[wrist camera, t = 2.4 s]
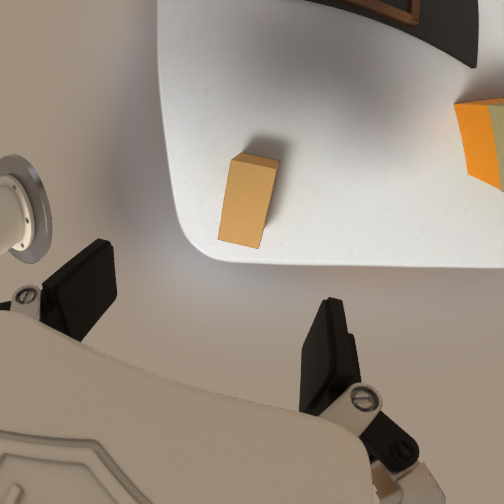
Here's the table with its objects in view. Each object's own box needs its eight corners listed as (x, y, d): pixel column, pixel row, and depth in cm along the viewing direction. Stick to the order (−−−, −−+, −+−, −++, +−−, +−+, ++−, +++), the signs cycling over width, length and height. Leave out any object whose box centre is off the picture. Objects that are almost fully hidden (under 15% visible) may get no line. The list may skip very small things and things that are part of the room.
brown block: (228, 221, 28) (217, 239, 24) (240, 152, 25) (230, 159, 21) (263, 229, 28) (258, 249, 24) (279, 160, 25) (276, 169, 21)
